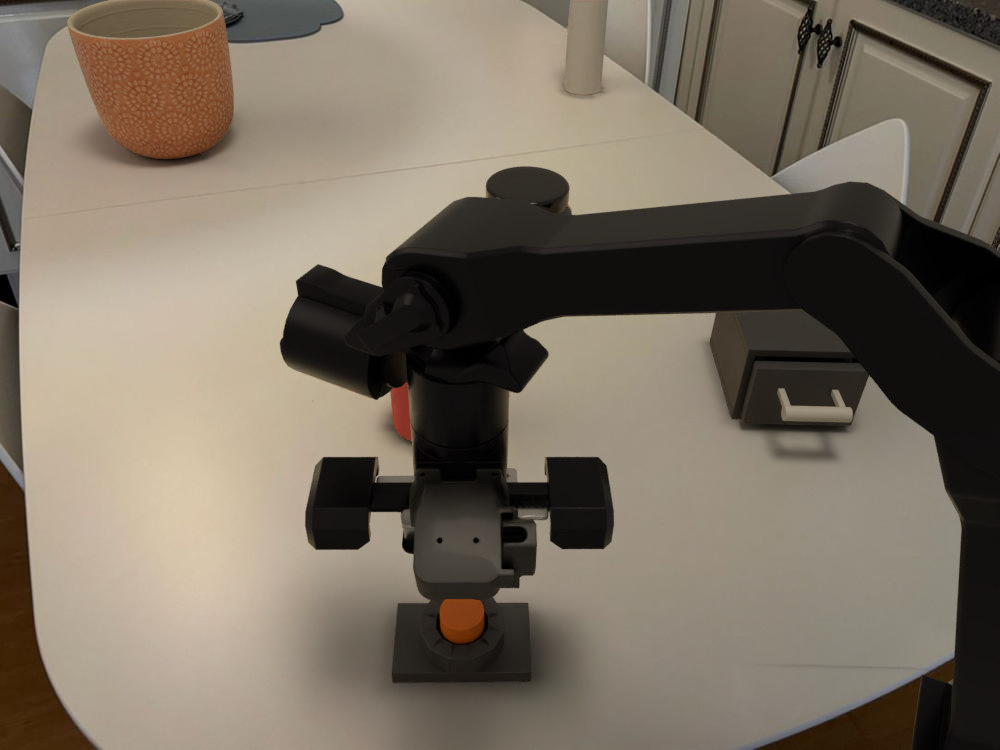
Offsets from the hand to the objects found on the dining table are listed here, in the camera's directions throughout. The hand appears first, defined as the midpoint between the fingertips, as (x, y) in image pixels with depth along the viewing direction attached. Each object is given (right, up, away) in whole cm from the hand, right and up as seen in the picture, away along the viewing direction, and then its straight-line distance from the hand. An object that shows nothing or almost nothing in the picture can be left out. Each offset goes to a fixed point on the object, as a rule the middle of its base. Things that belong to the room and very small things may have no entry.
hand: (462, 583), depth 59 cm
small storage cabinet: (+31, +14, +30) cm, 46 cm away
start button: (0, -4, +3) cm, 5 cm away
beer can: (-4, +10, +24) cm, 26 cm away
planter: (-47, +50, +73) cm, 100 cm away
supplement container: (+6, +27, +45) cm, 53 cm away
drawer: (+31, +12, +26) cm, 42 cm away
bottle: (+17, +65, +93) cm, 115 cm away
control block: (0, -6, +5) cm, 8 cm away
